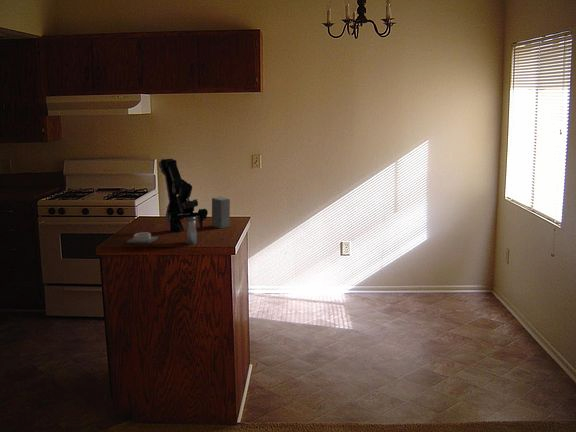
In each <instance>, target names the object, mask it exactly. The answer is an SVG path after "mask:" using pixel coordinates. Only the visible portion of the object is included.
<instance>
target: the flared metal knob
mask: <svg viewBox="0 0 576 432" xmlns="http://www.w3.org/2000/svg"><path fill="white" fill-rule="evenodd" d="M185 220H186V231H187V244H188V245H191V246H192V245H197V244H198V234H197V233H198V232H197V217H193V216H192V217H186V218H185Z"/></svg>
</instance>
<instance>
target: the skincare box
mask: <svg viewBox="0 0 576 432" xmlns="http://www.w3.org/2000/svg"><path fill="white" fill-rule="evenodd" d="M230 211H231V199H230V198H228V197H227V198H226V197H223V196H217V197H211V227H213V228H214V227H215V228H218V229H223V228H229V227H231V226H230V225H231V223H230V221H231V216H230V214H231V212H230Z"/></svg>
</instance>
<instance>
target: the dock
mask: <svg viewBox="0 0 576 432" xmlns="http://www.w3.org/2000/svg"><path fill="white" fill-rule="evenodd" d="M158 239H159V236H152V233H150V232H136V233H135V234H133V237H132V238H130V239H128V240H127V241H126V243H127V244H151V243H152V242H154V241H156V240H158Z"/></svg>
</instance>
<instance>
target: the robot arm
mask: <svg viewBox="0 0 576 432" xmlns="http://www.w3.org/2000/svg"><path fill="white" fill-rule="evenodd" d="M158 168H159V169H160V173H162V175H164V178H165V179H164V180H165V184H166V185H165V186H166V190H167V197H168V205H167V207H166V210H165V211H166V213H165V220H166V221H168V223H169V230H167V233H180V232H184V230H185V229H184V226H183V224H182V220H184V219H186V217H192V216H193V217H196V218H197V219H198V220H197V222H198V226H199V228H200V230H203V221H205V220H206V219H207V216H208V213H209V212H208V209H206V208H199V209H198V211H197V212H194V211H195V207H198V206H199V202H198V199H193V200H190V197H191V195H192V190H193V185H191V184H190V183H188V182H187V181H186V180H184V179H183V178H182V176H181V174H180V172H179V168H178V165H177V160H176V159H174V158H163V159H160V161H158Z"/></svg>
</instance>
